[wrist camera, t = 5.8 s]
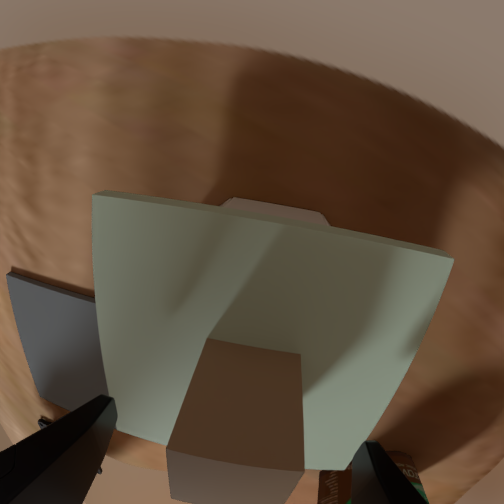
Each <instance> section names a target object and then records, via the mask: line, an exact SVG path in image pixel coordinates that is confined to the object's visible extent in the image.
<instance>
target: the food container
mask: <svg viewBox="0 0 504 504" xmlns="http://www.w3.org/2000/svg"><path fill="white" fill-rule="evenodd" d="M386 453H387V454H388V455H389V456H390V457H391V459H392V460H393V461H394V462H395V464H396V465H397V466H398V467H399V469H400V470H401V471H402V472H403V473H404V475H405V476H406V477H407V478H408V480H409V481H410V482H411V483H412V484H413V486H414V487H415V488H416V489H417V490H418V492H419V493H420V494H421V495H422V496H423V498H424V499H425V500H426V501H427V502H428V499H427V497H426V494H425V491H424V489H423V486H422V483H421V481H420V478H419V476H418V473H417V471H416V468H415V466H414V463H413V461H412V458H411V457H410V456H409V455H407V454H406V453H402V452H397V451H386ZM352 460H353V459H352ZM352 460H351V462H350V463H349V465H348V466H347V467H346V469H345V470H322V471H320V474H319V489H318V502H317V504H351V486H352ZM428 504H429V502H428Z"/></svg>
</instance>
